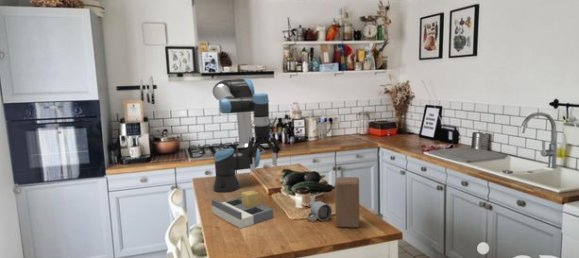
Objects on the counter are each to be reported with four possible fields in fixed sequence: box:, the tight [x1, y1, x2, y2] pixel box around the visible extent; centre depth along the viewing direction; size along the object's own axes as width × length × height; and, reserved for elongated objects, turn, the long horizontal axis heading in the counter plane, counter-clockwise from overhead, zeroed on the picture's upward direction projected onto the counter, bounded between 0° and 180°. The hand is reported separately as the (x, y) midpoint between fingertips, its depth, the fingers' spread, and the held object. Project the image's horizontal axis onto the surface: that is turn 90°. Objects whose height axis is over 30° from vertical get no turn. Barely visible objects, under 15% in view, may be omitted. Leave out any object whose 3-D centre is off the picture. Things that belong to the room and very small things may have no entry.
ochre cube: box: [240, 189, 260, 208], centre depth 186 cm, size 6×6×6 cm
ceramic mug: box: [306, 201, 333, 222], centre depth 176 cm, size 11×8×8 cm
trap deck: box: [211, 197, 274, 229], centre depth 184 cm, size 18×26×7 cm
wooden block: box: [334, 176, 360, 228], centre depth 168 cm, size 10×10×20 cm
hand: (264, 168), depth 190 cm, fingers open, 12 cm apart
